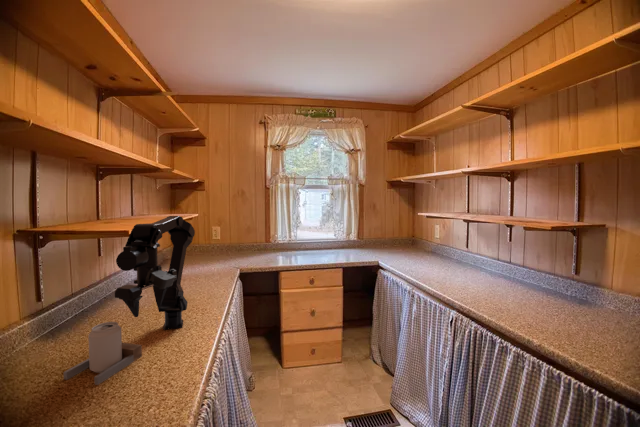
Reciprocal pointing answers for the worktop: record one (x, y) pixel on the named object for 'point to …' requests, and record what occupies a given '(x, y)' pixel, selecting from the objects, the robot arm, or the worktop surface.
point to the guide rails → (101, 376)
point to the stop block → (131, 350)
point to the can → (104, 346)
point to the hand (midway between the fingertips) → (148, 311)
